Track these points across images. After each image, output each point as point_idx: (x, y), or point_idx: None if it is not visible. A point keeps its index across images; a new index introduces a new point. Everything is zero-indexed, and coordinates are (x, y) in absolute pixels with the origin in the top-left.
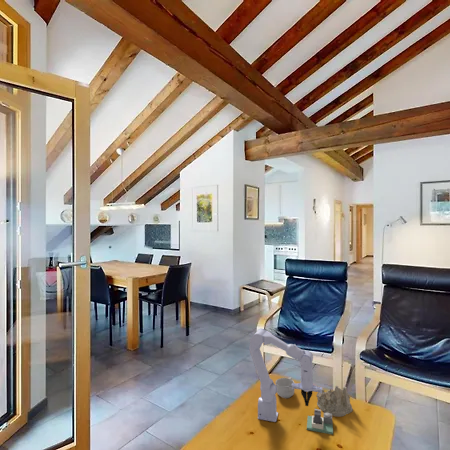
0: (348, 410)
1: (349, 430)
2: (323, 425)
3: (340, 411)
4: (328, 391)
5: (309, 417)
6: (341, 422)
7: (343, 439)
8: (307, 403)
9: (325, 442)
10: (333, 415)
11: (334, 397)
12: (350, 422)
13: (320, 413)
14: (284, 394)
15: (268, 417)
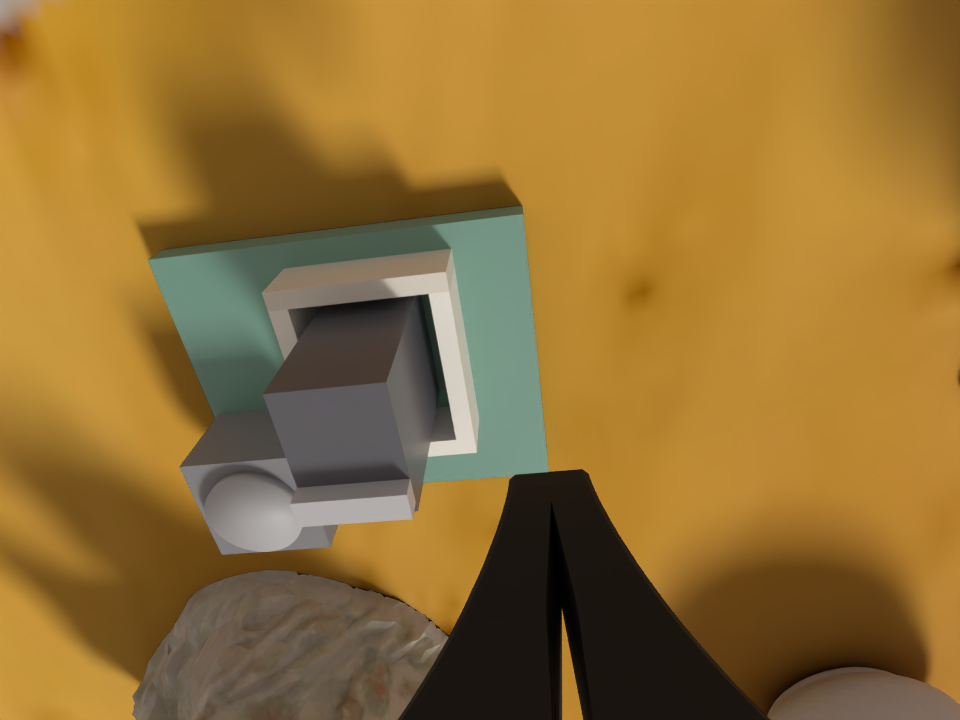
0: (151, 670)
1: (34, 406)
2: None
3: (202, 634)
4: None
5: (521, 445)
6: (168, 502)
7: (7, 205)
8: (530, 518)
9: (186, 7)
10: (279, 573)
11: None
12: (89, 531)
13: (286, 446)
14: (889, 708)
15: None
